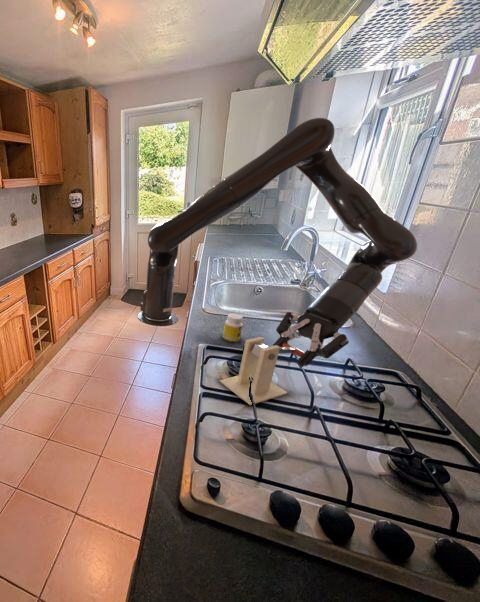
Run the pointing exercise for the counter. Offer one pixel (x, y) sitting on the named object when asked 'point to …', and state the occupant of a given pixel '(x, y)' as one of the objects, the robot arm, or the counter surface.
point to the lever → (283, 349)
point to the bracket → (256, 374)
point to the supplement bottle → (233, 328)
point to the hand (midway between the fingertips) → (286, 357)
